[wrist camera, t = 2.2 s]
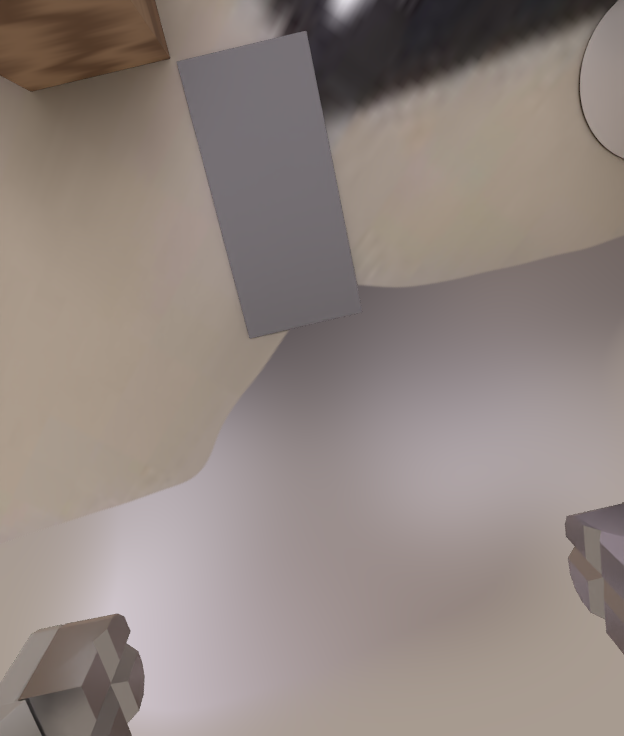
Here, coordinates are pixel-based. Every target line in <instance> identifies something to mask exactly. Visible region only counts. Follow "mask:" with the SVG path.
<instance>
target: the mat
mask: <svg viewBox="0 0 624 736" xmlns="http://www.w3.org/2000/svg"><path fill="white" fill-rule="evenodd" d="M177 65H178V69H179V73H180V77H181V80H182V84H183V88H184V92H185V96H186V99H187V103H188V107H189V111H190V114H191V118H192V122H193V126H194V130H195V133H196V137H197V141H198V145H199V149H200V152H201V156H202V160H203V164H204V168H205V171H206V175H207V179H208V183H209V186H210V190H211V194H212V198H213V202H214V205H215V209H216V213H217V217H218V221H219V224H220V228H221V232H222V236H223V240H224V243H225V247H226V251H227V255H228V259H229V262H230V266H231V270H232V274H233V277H234V281H235V285H236V289H237V293H238V296H239V300H240V304H241V308H242V312H243V315H244V319H245V323H246V327H247V331H248V334H249V338H254V337H258V336H263V335H267V334H271V333H276V332H280V331H284V330H289V329H293V328H297V327H301V326H306V325H310V324H314V323H319V322H323V321H327V320H331V319H336V318H340V317H345V316H349V315H353V314H358V313H362V307H361V302H360V297H359V292H358V287H357V282H356V277H355V272H354V267H353V262H352V257H351V252H350V247H349V242H348V237H347V232H346V227H345V222H344V217H343V212H342V207H341V202H340V197H339V192H338V187H337V182H336V177H335V172H334V167H333V162H332V157H331V152H330V147H329V142H328V137H327V132H326V127H325V122H324V117H323V112H322V107H321V102H320V97H319V92H318V87H317V82H316V77H315V72H314V67H313V62H312V57H311V52H310V47H309V42H308V37H307V32H306V31H303V32H299V33H295V34H291V35H286V36H282V37H278V38H274V39H270V40H265V41H261V42H257V43H253V44H249V45H244V46H240V47H236V48H232V49H228V50H223V51H219V52H215V53H211V54H207V55H202V56H198V57H194V58H190V59H186V60H181V61H177Z"/></svg>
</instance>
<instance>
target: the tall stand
mask: <svg viewBox="0 0 624 736" xmlns="http://www.w3.org/2000/svg"><path fill="white" fill-rule="evenodd" d="M169 58H170V56H169V52H168V48H167V44H166V41H165V37H164V33H163V29H162V26H161V22H160V18H159V14H158V11H157V7H156V3H155V0H0V75H1V76H3V77H4V78H6V79H8V80H10V81H12V82H14V83H16V84H18V85H19V86H21V87H23V88H25V89H27V90H29V91H35V90H39V89H44V88H48V87H52V86H56V85H60V84H65V83H69V82H73V81H77V80H81V79H86V78H90V77H94V76H98V75H102V74H107V73H111V72H115V71H119V70H123V69H128V68H132V67H136V66H140V65H144V64H148V63H153V62H157V61H161V60H165V59H169Z"/></svg>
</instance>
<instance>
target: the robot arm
mask: <svg viewBox="0 0 624 736" xmlns="http://www.w3.org/2000/svg"><path fill="white" fill-rule="evenodd" d="M580 96H581V103H582V108H583V112H584V115H585V118H586V120H587V123H588V125H589V127H590V129H591V130H592V132H593V134H594V135H595V136H596V138H597V139H598V140H599V141H600V142H601V144H603V145H604V146H605V147H606V148H607V149H608V150H609V151H611V152H612V153H614V154H616V155H617V156H619V157H622V158H624V0H618V1H617V2H616V3H615V4H614V5H613V6H612V7H611V8H610V10H609V11H608V12H607V13H606V14H605V16H604V17H603V18H602V20H601V21H600V23H599V24H598V26H597V27H596V29H595V31H594V33H593V35H592V37H591V39H590V41H589V43H588V46H587V49H586V51H585V55H584V58H583V63H582V68H581V75H580ZM565 531H566V537H567V538H568V539H569V540H570V541H571V543H572V544H573V545H574V546H575V547H574V548H573V550H572V552H571V554H570V555H569V557H568V562H569V569H570V575H571V578H572V580H573V584H574V587H575V589H576V591H577V593H578V595H579V597H580V598H581V600H582V602H583V603H584V605H585V606H586V607H587V608H588V610H589V611H590V612H591V613H593V614H595V615H597V616H599V617H601V618H603V619H605V622H606V633H607V634H608V635H609V636H610V638H611V639H612V640H613V641H614V642H615V644H616V645H617V646H618V648H619V649H620V650H621V651H622V653H623V654H624V502H623V503H622V504H618V505H614V506H609V507H605V508H601V509H596V510H592V511H587V512H583V513H578V514H574V515H569V516H567V517H566V522H565ZM129 634H130V629H129V627H128V624H127V622H126V620H125V617H124V616H122V615H120V614H113V615H108V616H103V617H98V618H93V619H87V620H82V621H77V622H72V623H67V624H65V625H57V626H53V627H48V628H44V629H39V630H37V631H36V632H34V633H32V634H31V635H30V637H29V638H28V640H27V642H26V643H25V645H24V646H23V648H22V649H21V651H20V653H19V654H18V656H17V657H16V659H15V660H14V662H13V664H12V665H11V667H10V668H9V670H8V672H7V673H6V675H5V676H4V678H3V680H2V681H1V683H0V736H132V735H131V732H130V730H129V727H128V725H127V723H128V722H129V721H130V720H131V719H132V718H133V717H134V715H135V714H136V713H137V712H138V711H139V709H140V706H141V702H142V698H143V695H144V670H143V664H142V661H141V658H140V655H139V652H138V651H137V650H136V649H134V648H133V647H131V646H130V645H128V644H127V643H126V642H127V639H128V637H129Z"/></svg>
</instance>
